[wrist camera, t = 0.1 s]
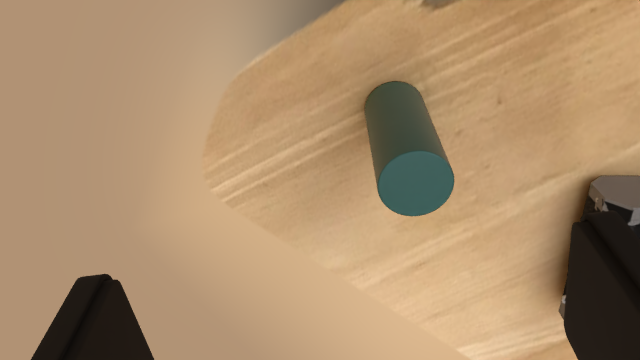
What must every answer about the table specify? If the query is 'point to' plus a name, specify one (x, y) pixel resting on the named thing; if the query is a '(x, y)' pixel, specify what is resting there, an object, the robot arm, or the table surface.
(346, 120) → the table surface
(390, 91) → the peg
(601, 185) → the camera
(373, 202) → the table surface
